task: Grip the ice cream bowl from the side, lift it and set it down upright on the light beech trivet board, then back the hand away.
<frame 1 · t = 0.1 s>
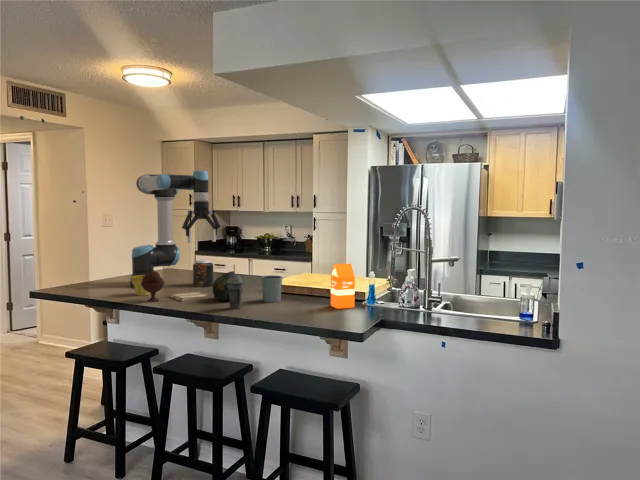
hand: (201, 242, 251), 28 cm above the worktop, tool pointing down, fingers open, 13 cm apart
plant pot: (142, 295, 255), on the worktop
beverage cup: (235, 308, 222), on the worktop
blue-grey cup: (272, 301, 240), on the worktop
trivet: (189, 297, 248), on the worktop
squash: (227, 300, 242), on the worktop
jar: (203, 285, 285), on the worktop
orange juice: (342, 306, 227), on the worktop
ice cream bowl: (153, 301, 238), on the worktop
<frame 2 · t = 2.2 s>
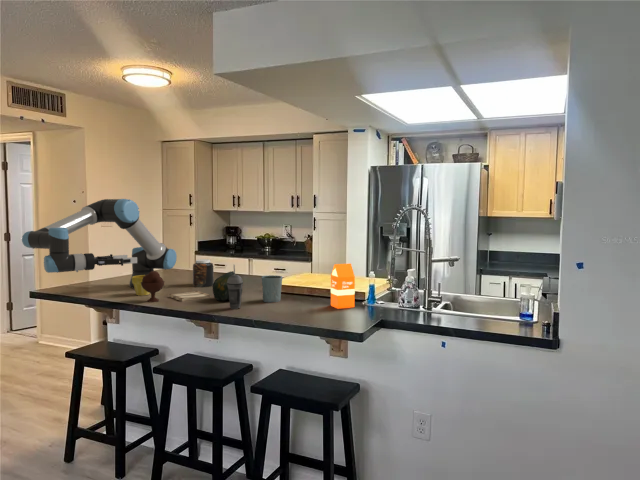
hand: (132, 258, 231), 22 cm above the worktop, tool horizontal, fingers open, 13 cm apart
nothing on the worktop moved.
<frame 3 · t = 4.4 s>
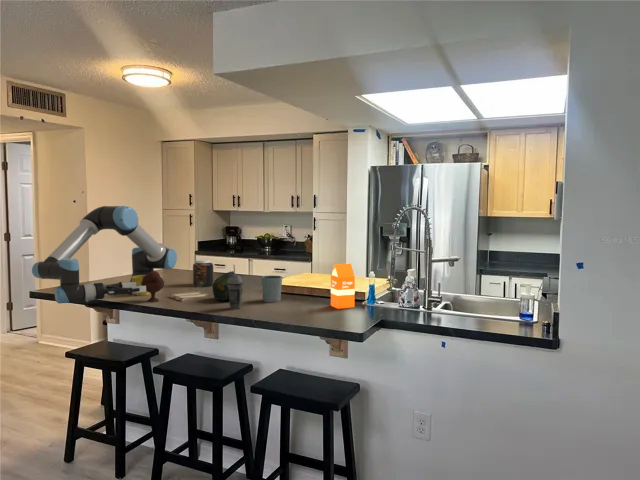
hand: (140, 286, 234), 8 cm above the worktop, tool horizontal, fingers open, 13 cm apart
nothing on the worktop moved.
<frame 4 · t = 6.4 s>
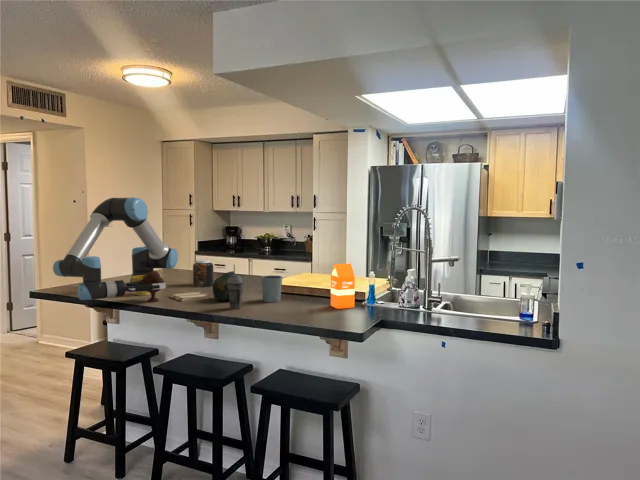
hand: (160, 284, 240), 8 cm above the worktop, tool horizontal, fingers closed on ice cream bowl, 11 cm apart
ice cream bowl: (153, 301, 238), on the worktop, touching gripper
everything else where it was.
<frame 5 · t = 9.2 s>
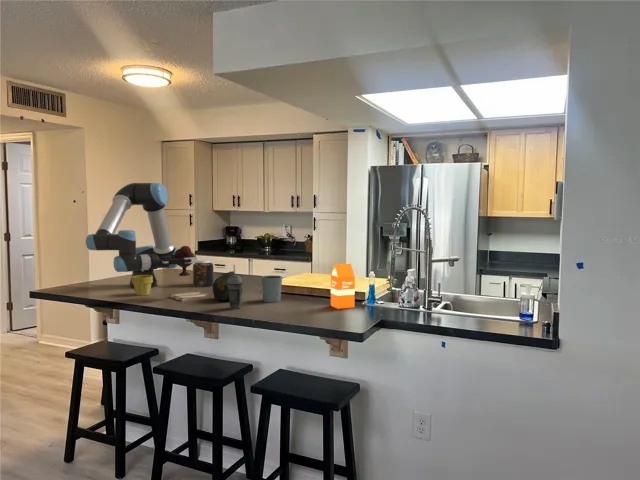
hand: (191, 258, 247), 20 cm above the worktop, tool horizontal, fingers closed on ice cream bowl, 11 cm apart
ice cream bowl: (184, 275, 245), point 12 cm above the worktop, touching gripper
everything else where it was.
when the fingers open (10 cm above the worktop, at t = 12.3 s): ice cream bowl drops 1 cm, resting on trivet.
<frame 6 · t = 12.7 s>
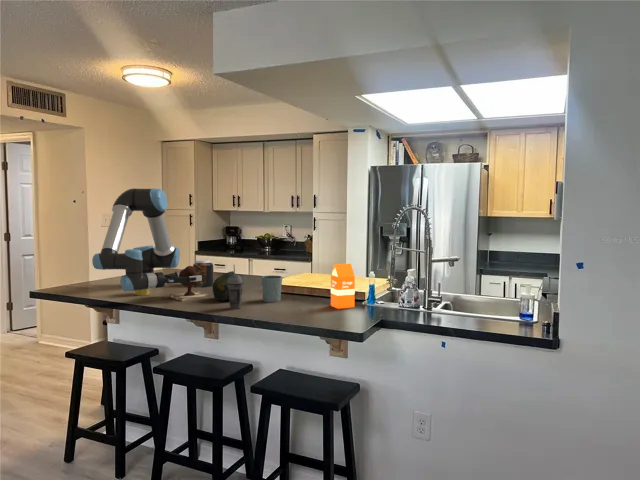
hand: (195, 276, 249), 10 cm above the worktop, tool horizontal, fingers open, 13 cm apart
ice cream bowl: (189, 295, 248), point 1 cm above the worktop, touching trivet
everything else where it was.
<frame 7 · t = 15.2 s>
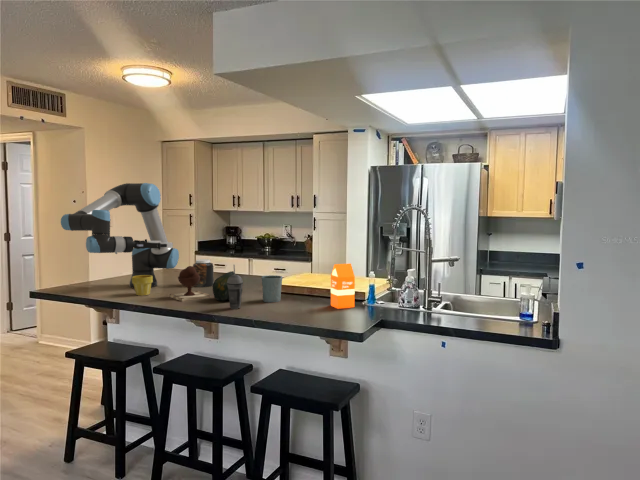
hand: (166, 244, 240), 28 cm above the worktop, tool horizontal, fingers open, 13 cm apart
nothing on the worktop moved.
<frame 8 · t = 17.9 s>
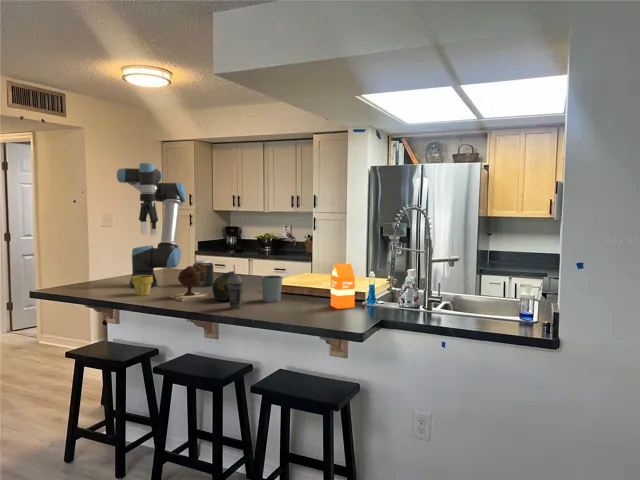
hand: (148, 234, 250), 32 cm above the worktop, tool pointing down, fingers open, 13 cm apart
nothing on the worktop moved.
at the end: ice cream bowl inside the target area on the trivet (0.1 cm from its centre), point 1.0 cm above the trivet's base; ice cream bowl tilted 0°; the gripper is holding nothing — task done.
